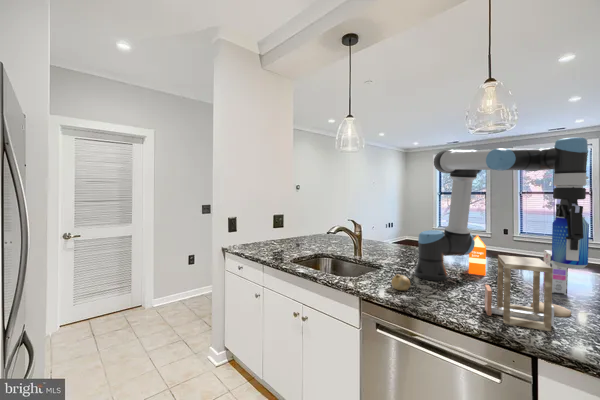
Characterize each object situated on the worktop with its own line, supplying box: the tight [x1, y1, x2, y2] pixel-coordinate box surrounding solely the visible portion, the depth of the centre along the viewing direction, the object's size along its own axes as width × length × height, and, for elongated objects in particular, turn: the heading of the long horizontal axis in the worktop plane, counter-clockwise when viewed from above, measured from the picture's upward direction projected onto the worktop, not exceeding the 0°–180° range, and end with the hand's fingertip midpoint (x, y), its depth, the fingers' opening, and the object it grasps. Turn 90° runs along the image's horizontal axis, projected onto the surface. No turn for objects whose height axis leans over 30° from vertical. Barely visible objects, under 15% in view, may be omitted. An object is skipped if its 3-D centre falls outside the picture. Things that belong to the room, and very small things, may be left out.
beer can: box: [551, 215, 590, 270], centre depth 90 cm, size 8×8×16 cm
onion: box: [391, 273, 411, 292], centre depth 124 cm, size 8×8×7 cm
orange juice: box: [468, 234, 487, 276], centre depth 150 cm, size 8×9×20 cm
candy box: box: [543, 249, 569, 296], centre depth 123 cm, size 14×6×16 cm, turn 148°
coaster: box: [530, 301, 572, 318], centre depth 102 cm, size 11×11×1 cm
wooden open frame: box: [496, 254, 553, 332], centre depth 95 cm, size 12×14×20 cm
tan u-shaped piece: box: [484, 284, 555, 327], centre depth 96 cm, size 18×7×9 cm, turn 62°
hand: (566, 256), depth 90 cm, fingers closed on beer can, 8 cm apart
